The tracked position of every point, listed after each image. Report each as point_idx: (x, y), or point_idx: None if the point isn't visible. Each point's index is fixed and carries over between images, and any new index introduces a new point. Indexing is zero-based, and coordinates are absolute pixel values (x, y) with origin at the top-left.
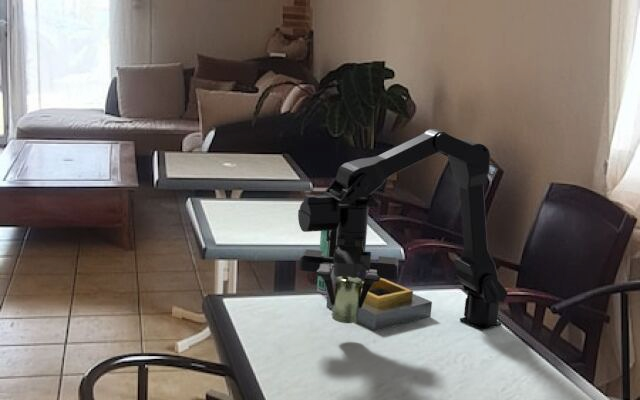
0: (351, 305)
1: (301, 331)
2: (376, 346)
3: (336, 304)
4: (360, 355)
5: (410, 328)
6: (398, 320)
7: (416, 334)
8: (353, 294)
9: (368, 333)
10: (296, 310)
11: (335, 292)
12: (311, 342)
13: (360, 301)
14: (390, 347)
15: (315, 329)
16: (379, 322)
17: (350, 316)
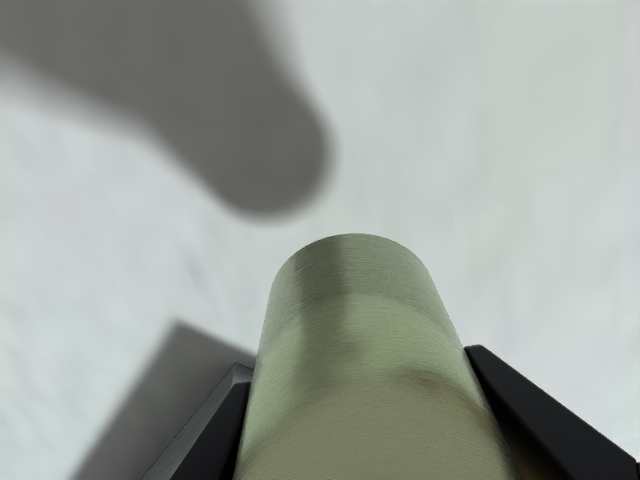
0: (293, 345)
1: (548, 232)
2: (158, 219)
3: (443, 331)
4: (180, 58)
5: (125, 428)
6: (172, 452)
7: (75, 395)
8: (274, 469)
9: (251, 332)
10: (572, 403)
11: (513, 458)
12: (488, 120)
13: (229, 428)
14: (94, 236)
15: (483, 279)
16: (218, 403)
17: (296, 278)
